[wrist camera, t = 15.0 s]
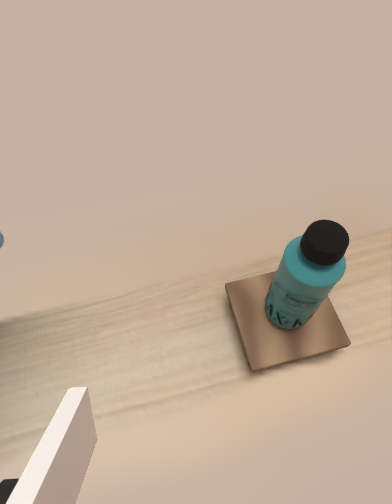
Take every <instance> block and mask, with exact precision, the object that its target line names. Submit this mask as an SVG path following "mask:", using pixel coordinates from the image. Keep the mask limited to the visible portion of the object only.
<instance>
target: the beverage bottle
mask: <svg viewBox="0 0 392 504" xmlns="http://www.w3.org/2000/svg"><path fill="white" fill-rule="evenodd" d="M348 245H349V236H348V233H347V231H346V230H345V229H344V228H343V227H342V226H341V225H340V224H338V223H336V222H334V221H330V220H318V221H316V222H313V223H312V224H311V225H310V226H309V227H308V228H307V230H306V232H305V233H304V234H303V235H302V236H299V237H296V238H295V239H293V240H292V241H290V242H289V244H288V245H287V246H286V248H285V251H284V254H283V258H282V260H281V263H280V265H279V268H278V270H277V272H276V274H275V277H274V279H273V278H272V279H273V282H272V281H271V282H272V283H271V284H272V285H271V284H270V286H271V287H269V290H268V291H269V293H267V296H266V299H265V307H264V308H265V309H266V311H265V312H266V313H267V316H268V317H269V319H270V320H271V321H272V322H273V323H274V324H276V325H277V326H279V327H282V328H285V329H294V328H298V327H301V326H302V325H304V324H305V323H306V322H307V321H308V320H310V319H311V318H310V317H312V316H313V315H312V314H314V313H315V312H316V311H317V310H316V309H318V308H319V307H318V306H319V305H320V304H321V303H322V301H323V300H324V299H326V298H325V297H326V296H327V295H328V293H329V292H330V290H331V289H332V288H333V287H334V285H335V284H336V283H337V282H338V281H339V280H340V279H341V278H342V276H343V274H344V272H345V269H346V261H345V257H344V254H345V252H346V249H347V247H348ZM322 304H323V303H322ZM315 310H316V311H315ZM314 311H315V312H314ZM311 315H312V316H311Z"/></svg>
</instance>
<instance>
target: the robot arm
mask: <svg viewBox="0 0 392 504" xmlns="http://www.w3.org/2000/svg"><path fill="white" fill-rule="evenodd" d="M3 243H4V237H3V235H2V234H1V232H0V248H1V247H2V245H3ZM96 442H97V437H96V431H95V426H94V420H93V415H92V410H91V404H90V399H89V394H88V388H87V387H76V388H69V389H68V391H67V393H66V395H65V396H64V398H63V400H62V402H61V404H60V406H59V407H58V409H57V411H56V413H55V415H54V417H53V418H52V420H51V422H50V424H49V426H48V428H47V429H46V431H45V433H44V435H43V437H42V438H41V440H40V442H39V444H38V446H37V448H36V449H35V451H34V453H33V455H32V457H31V459H30V460H29V462H28V464H27V466H26V468H25V470H24V471H23V473H22V475H21V477H20V478H19V479H5V480H3V481H2V482H1V483H0V504H75V503H76V500H77V497H78V494H79V491H80V488H81V485H82V483H83V479H84V477H85V474H86V471H87V468H88V465H89V462H90V459H91V456H92V453H93V450H94V447H95V444H96Z"/></svg>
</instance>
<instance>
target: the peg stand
mask: <svg viewBox="0 0 392 504" xmlns="http://www.w3.org/2000/svg"><path fill="white" fill-rule="evenodd" d="M276 272H277V271H275V272H271V273H267V274H263V275H259V276H255V277H251V278H246V279H242V280H238V281H234V282H230V283H226V284H225V289H226V292H227V295H228V299H229V302H230V307H231V308H232V311H233V315H234V318H235V321H236V324H237V327H238V330H239V334H240V337H241V340H242V343H243V346H244V350H245V353H246V356H247V359H248V365H249V367H250V369H251V372H254V371H258V370H262V369H265V368H269V367H273V366H277V365H281V364H284V363H288V362H292V361H296V360H299V359H303V358H307V357H311V356H314V355H318V354H322V353H326V352H329V351H333V350H337V349H341V348H344V347H348V346H349V345H351V342H350V340H349V338H348V336H347V334H346V332H345V330H344V328H343V326H342V324H341V322H340V320H339V318H338V316H337V314H336V312H335V310H334V307H333V305H332V303H331V301H330V299H329V297H328V295H327V296H326V297H325V298H326V299H324V300H323V301H322V303H323V304H322V303H321V304H320V305H319V306H318V307H319V308H318V309H316V310H317V311H316V310H315V311H316V312H315V311H314V312H315V313H314V314H312V315H313V316H312V315H311V316H312V317H310V318H311V319H310V320H308V321H307V322H306V323H305V324H304V325H302V326H301V327H298V328H294V329H285V328H282V327H279V326H277V325H276V324H274V323H273V322H272V321H271V320H270V319H269V317H268V316H267V313H266V312H265V311H266V309H265V308H264V307H265V299H266V296H267V293H269V291H268V290H269V287H271V286H270V284H271V283H272V282H273V279H274V277H275V274H276ZM272 278H273V279H272ZM271 281H272V282H271ZM271 285H272V284H271Z"/></svg>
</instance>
